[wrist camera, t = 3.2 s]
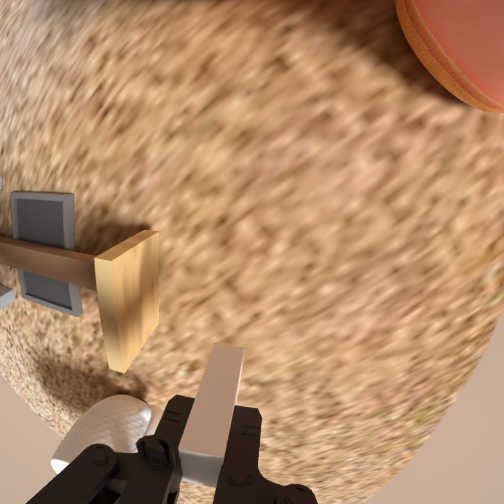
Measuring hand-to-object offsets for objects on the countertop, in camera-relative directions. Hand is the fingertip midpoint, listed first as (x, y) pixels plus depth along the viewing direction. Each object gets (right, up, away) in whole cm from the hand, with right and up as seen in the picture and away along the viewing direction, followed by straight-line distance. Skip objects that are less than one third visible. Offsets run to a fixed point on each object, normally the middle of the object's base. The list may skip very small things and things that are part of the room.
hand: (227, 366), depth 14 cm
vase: (+19, +25, +1) cm, 31 cm away
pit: (-20, +6, +10) cm, 23 cm away
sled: (-23, +6, +10) cm, 26 cm away
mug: (-12, -13, +16) cm, 24 cm away
